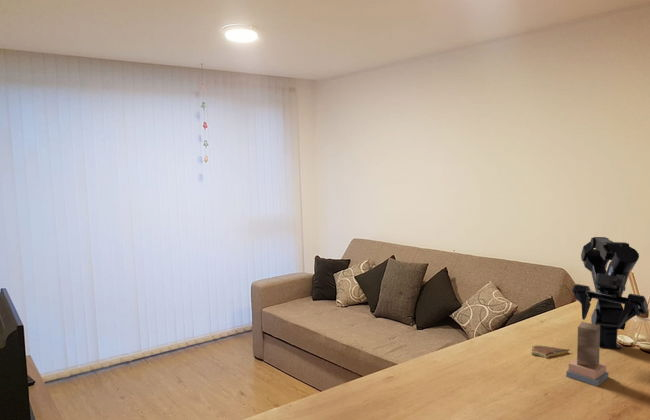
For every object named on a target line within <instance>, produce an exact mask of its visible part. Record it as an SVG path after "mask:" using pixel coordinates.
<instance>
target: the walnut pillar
mask: <svg viewBox="0 0 650 420" xmlns="http://www.w3.org/2000/svg"><path fill="white" fill-rule="evenodd" d="M576 347H577V349H576V350H577V353H576V354H577V355H576V356H577V357H576V359H577V365H580V366H584V367H588V368H592V369H596V367H597V366H598V364H599V363H600V350H601V349H600V325H596V324H592V323H590V322H586V321H581V323H580V324H579V325H578V326H577V346H576Z"/></svg>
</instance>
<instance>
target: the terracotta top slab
mask: <svg viewBox="0 0 650 420" xmlns="http://www.w3.org/2000/svg"><path fill="white" fill-rule="evenodd" d="M567 371H571V372H574V373H576V374H579V375H582V376H585V377H588V378H591V379H594V380H596V379H597V378H598V377H600V376H601V375H603V374H604V373H606V372H607V364H605V363H601V362H599V364H598V366H597V367H596V369H592V368H588V367H584V366H580V365H577V358H576V359H573V360H572V361H570V362H568V369H567Z"/></svg>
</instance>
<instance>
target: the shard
mask: <svg viewBox="0 0 650 420" xmlns="http://www.w3.org/2000/svg"><path fill="white" fill-rule="evenodd" d="M569 351H570V349H567V348H566V349H565V348H560V347H559V348H558V347H553V346H549V345H548V346H546V345H537V344H532V345H531V355H535V356H539V357H541V358H543V359H548V358H551V357H555V356H561V355H565V354H568V353H569ZM550 356H551V357H550Z"/></svg>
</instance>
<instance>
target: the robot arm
mask: <svg viewBox="0 0 650 420" xmlns="http://www.w3.org/2000/svg"><path fill="white" fill-rule="evenodd" d="M580 258H581V262H582V263H583V265H584V268H585V269H586V270H588V271H589V272H590V273H591V278H592V282H593V284H594V290H595V291H593V290H591V288H590V286H589V285H584V284H579V283H577V284H575V285H574V286H573V287H572V290H571V291H572V294H573V295H574V297H575V299H576V300H577V301H578V302H579V303H580V304H581V319H582V320H583V321H585V319H586V318H587V316H588V313H589V310H590V307H591V305H592V304H591V302H592V299H597V301H596V305H595V308H594V310H593V311H592V313H591V315H590V316H591V318H590V319H591V321H590V322H591V324H596V325H600V348H601V349H602V348H603V349H622V346H621V345H620V344H619V343H618V330H623V331H624V330H625V328H626V323H627V322H628V321H630V320H631V319H633V318H634V317H636V316H641V315H647V314H648V310H649V305H648V302H647V299H646V297H645V296H644V295H641V294H635V293H628V296H627V297H625V296H624V297H623V294H624V292H625V291H626V284H627V281H628V279H629V275H630V273H631V271H632V270H633V268H634V267H635V265H636V263H637V262H638V260H639V258H640V254H639V252H638V250H636V249H635V248H633V247H632V246H630V243H627V242H624V241H623V242H620V241H619V242H618V241H617V242H616V241H613V240H611V239H609V237H605V236H594V237H591V239H590V241H589V242H588V243H586V244H584V245H583V247H582V250H581V253H580ZM623 305H624V306H623Z"/></svg>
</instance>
